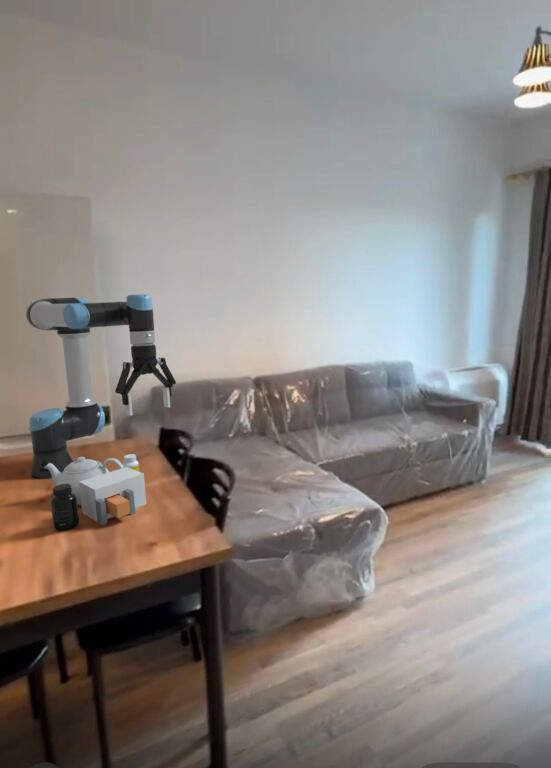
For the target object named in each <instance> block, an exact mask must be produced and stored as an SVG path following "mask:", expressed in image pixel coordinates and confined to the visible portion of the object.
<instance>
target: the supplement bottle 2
mask: <svg viewBox="0 0 551 768" xmlns="http://www.w3.org/2000/svg"><path fill="white" fill-rule="evenodd" d="M123 460H124V462H123V463H122V465H123V468H125V467H128V468H131V469H133V470H136V471H138V472H140V463H139V461H138V460H137V455H136V454H134V453H131V454H126V455H124V456H123Z"/></svg>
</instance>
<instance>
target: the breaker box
mask: <svg viewBox="0 0 551 768" xmlns="http://www.w3.org/2000/svg"><path fill="white" fill-rule="evenodd" d="M79 487H80V496H81V505H82V506H81V512H82V514H84V516H87V517H89V518H90V519H91V520H93V521H95V522H97V524H99V525H101V526H102V527H104V526H106V525H108V520H109V519H110V518H111V519H112V518H114V517H115V516H113V515H111V514H109V513H108V512H106V504H105V501H104V498H107V497H110V496H113V495H116V494H117V495H119V496H121V497H123V498H125V499H127V500H129V504H130V514H129V515H130V516H131V515H134V514H136V509H138V508H140V507H142V506H143V507H144V506H145V505H147V495H146V492H147V491H146V483H145V473H143V472H141V471H139V472H138V471H136V470H133V469H131V468H128V467H125V468H122V469H120V468H119V469H116V470H112V471H109V473H106V474H102V475H99V476H96V477H93V478H89V479H86V480H83V481H80V482H79Z"/></svg>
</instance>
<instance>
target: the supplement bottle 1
mask: <svg viewBox="0 0 551 768" xmlns="http://www.w3.org/2000/svg"><path fill="white" fill-rule="evenodd" d="M71 492H72V489H71V485H70V484H60V485H57V486H55V485H54V486H53V488H52V495H53V496H52V497H51V499H50V501H49V502H50V503H49V504H50V509H51V515H52V516H51V517H52V522H53V529H54V530H56V531H58V532H67V531H70V530H71V531H72V530H74V529H75V528H77V527H78V526H79V525H80V515H79V506H77V498H76V495H75V494H74V493H71Z"/></svg>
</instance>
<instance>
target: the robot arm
mask: <svg viewBox="0 0 551 768" xmlns="http://www.w3.org/2000/svg"><path fill="white" fill-rule="evenodd" d="M25 316H26V320H27V322H28V323H29V324H30V325H31V326H32V327H33V328H35V329H37V330H40V331H41V330H43V331H56V332H57V336H59V337H60V338H61V339H62V346H63V356H64V366H65V374H66V384H67V392H68V401H67V402H66V403H65V410H63V409H62V408H61V407H54V408H48V409H43V410H39V411H38V412H36V413H33V414H32V415H31V416H30V418H29V431H30V437H31V444H32V452H33V455H32V459H31V463H30V464H31V465H30V469H29V471H30V476H31V475H32V476H34V477H33V478H35V477H37V478H36V479H50V478H52V475H51V473H50V471H49V470H48V469H45V468H44V467H45V466H46V465H48V464H49V463H51V464H53V465H54V466H55V467H56V468H57V469H58V471H59V472H61V473H62V472H63V471H64V469H65V467H67V466H68V465H69V464H70V463H72V462H74V460H73V458H72V456H71V454H70V452H69V451H68V444H67V442H68V441H72V440H73V441H74V440H77V439H81V438H85V437H91V436H94V435H96V434H99V433H100V432H102V430H103V429H104V426H105V423H106V414H105V411H104V408H103V407H102V406H101V405H100V404H98V401H97V400H96V399H95V398H93V397H94V396H93V388H92V378H91V368H90V360H89V349H88V339H87V337H88V336H89V334H91V328H92V329H93V328H103V327H104V328H106V327H118V326H121V327H122V326H128V330H129V340H130V341H129V343H130V344H131V345H132V346H131V347H130V354H131V358H132V359H131V360H132V361H131V362H129V361H128V362H127V361H124V362H122V370H121V373H120V376H119V379H118V382H117V384H116V387H115V390H114V392H115V393H116V394H117V395H118V394H119V395H121V398H122V399H121V400H122V401H121V402H122V404H123V406H125V414H126V416H129V417H130V416H134V415H133V413H134V412H133V404H132V395H131V393H130V391H131V390H132V389H133V387H134V385H135V384H136V381H138V379H139V377H141V375H147V374H148V375H151V374H152V375H154V376H155V377H156V378H157V379H158V381H160V383H161V384H163V385H162V387H161V388H162V397H163V400H162V401H163V407H164V408H165V407H166V408H171V397H172V388H173V387H174V386H173V385H177V384H176V383H177V381H176V379H175V378H174V376H173V374H172V373H171V370H170V368H169V367H168V365H167V362H166V358H165V357H162V356H161V357H158V358H157V347H156V345H155V343H156V337H155V336H156V335H155V324H154V323H155V322H154V321H155V320H154V306H153V301H152V297H151V295H149V294H144V293H143V294H129V295H127V296H126V301H110V302H109V301H108V302H89V301H88V299H86V298H83V297H74V296H72V297H53V298H50V297H49V298H40V299H37V300H35V301H33V302H31V303H30V304H29V305H28V306H27V307H26V313H25ZM157 365H159V368H160V369H161V371H162V372H160V370H159V368H158V367H157ZM132 368H133V370H132ZM131 370H132V371H131ZM130 372H131V373H130ZM162 373H163V374H162ZM129 374H130V376H129ZM129 393H130V394H129ZM32 476H31V477H32Z"/></svg>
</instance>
